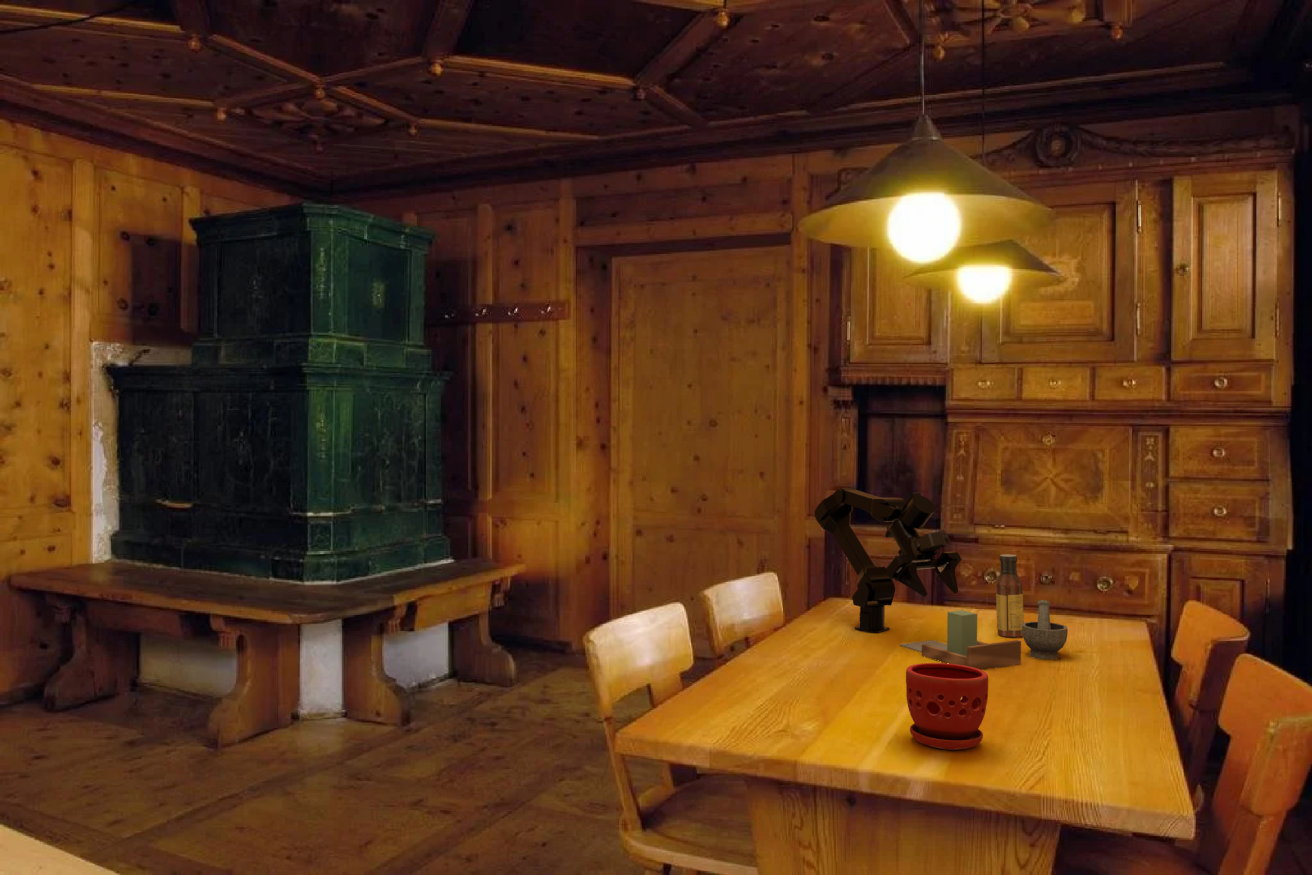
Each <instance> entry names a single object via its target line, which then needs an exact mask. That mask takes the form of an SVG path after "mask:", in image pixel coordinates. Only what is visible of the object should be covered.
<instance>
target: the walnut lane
mask: <svg viewBox="0 0 1312 875" xmlns="http://www.w3.org/2000/svg"><path fill="white" fill-rule="evenodd" d="M922 655H923V656H922ZM921 656H922V657H924V656H925V657H924V658H927V657H928V659H930V658H931V659H930V660H933V659H936V660H935V661H937V660H939V661H938V662H940V661H941V662H940V663H943V662H944V663H949V664H957V665H964V666H969V667H973V668H977V669H980V670H982V669H983V670H982V671H984V670H988V668H991V669H996V668H995V667H997V668H1003V667H1010V666H1017V664H1018V665H1021V664H1022V661H1021V660H1022V641H1021V640H1018V639H1015V640H1014V639H1013V640H1006V641H999V642H993V643H987V642H983V641H979V640H977V645H975V646H968V647H967V656H964V655H960V654H957V653H954V652H950V651H947V650H944V649H940V648H937V647H934V646H930V645H927V644H923V645H922V652H921Z"/></svg>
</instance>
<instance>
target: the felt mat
mask: <svg viewBox="0 0 1312 875" xmlns="http://www.w3.org/2000/svg"><path fill="white" fill-rule="evenodd" d="M923 644H927V645H930V646H934V647H937V648H940V649H944V650H947V643H944V642H940V641H937V640H933V639H931V640H926V641H925V640H924V641H916V642H914V641H913V642H909V643H900V644H899V646H901V647H903V646H904V647H903V648H906V647H907V648H906V649H909V650H913V651H916V650H917V651H916V652H919V651H920V653H922V645H923Z"/></svg>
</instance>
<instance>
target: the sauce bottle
mask: <svg viewBox="0 0 1312 875" xmlns="http://www.w3.org/2000/svg"><path fill="white" fill-rule="evenodd" d="M999 561H1000V571H999V572H1000V574H999V575H998V577H997V579H996V581H995V584H996V587H995V589H996V593H995V597H996V598H995V600H996V601H995V602H996V603H995V605H996V629H997V634H998V636H1001V637H1003V638H1004V637H1005V638H1021V637H1023V632H1022V623H1025V622H1024V620H1025V617H1024V592H1023V583H1022V581H1021V579H1020V576H1019V575H1018V571H1017V570H1018V569H1017V562H1018V556H1017V555H1016V554H1013V553H1012V554H1011V553H1010V554H1009V553H1006V554H1000V555H999Z"/></svg>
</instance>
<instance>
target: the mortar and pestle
mask: <svg viewBox="0 0 1312 875" xmlns="http://www.w3.org/2000/svg"><path fill="white" fill-rule="evenodd" d="M1036 605H1037V606H1038V608H1037V610H1038V611H1037V612H1038V613H1037V621H1028V622H1027V621H1026V622H1024V623H1022V632H1023V636H1022V637H1023V641H1024V642H1025V645H1026V646H1027V647H1028V648H1029V657H1031V658H1033V657H1034V659H1039V660H1044V659H1053V661H1054V659H1055V660H1058V659H1059V656H1060V654H1059V651H1060V650H1061V649H1062V648H1064V646H1065V645H1066V642H1067V638H1068V626H1067V625H1064V624H1060V623H1055V622H1051V614H1050V607H1051V602H1050V601H1049V600H1046V599H1040V600H1038V601H1037V604H1036Z"/></svg>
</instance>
